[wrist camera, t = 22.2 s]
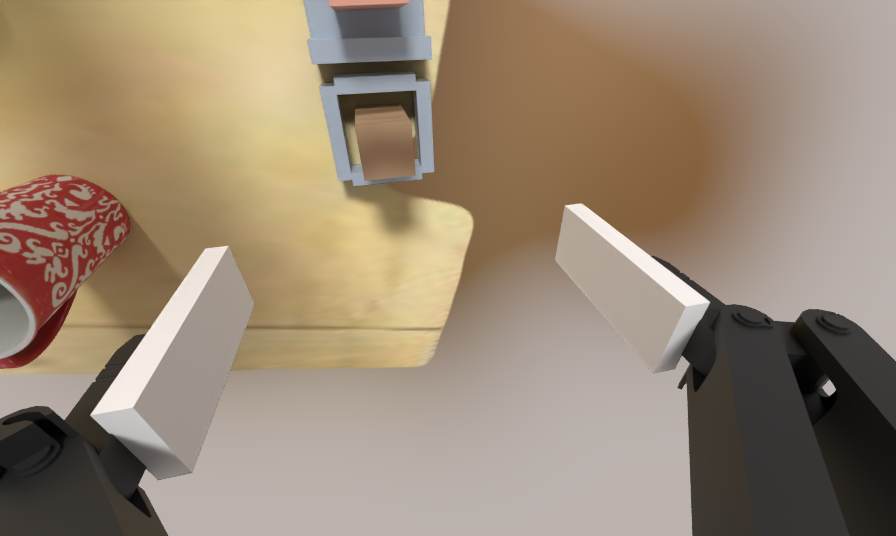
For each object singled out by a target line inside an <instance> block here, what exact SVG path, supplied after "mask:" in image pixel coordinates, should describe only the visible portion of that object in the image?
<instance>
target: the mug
mask: <svg viewBox="0 0 896 536" xmlns="http://www.w3.org/2000/svg"><path fill="white" fill-rule="evenodd" d="M129 228H130V222H129V218H128V216H127V213H126V211H125V209H124V208H123V207H122V205H121V204H120V203H119V202H118V201H117V200H116V199H115V198H114V197H113V196H112V195H111V194H110V193H108V192H107V191H105V190H104V189H102V188H101V187H99V186H97V185H95V184H93V183H91V182H89V181H86V180H83V179H80V178H76V177H72V176H65V175H50V176H44V177H40V178H37V179H34V180H31V181H29V182H26V183H24V184H21V185H18V186H16V187H13V188H10V189H7V190H4V191H2V192H0V369H5V368H18V367H22V366H24V365H26V364H28V363H30V362H32V361H33V360H34V359H36V358H37V357H38V356H39V355H40V354H41V353H42V352H43V351H44V350H45V349H46V348H47V347H48V346H49V345H50V343H51V342H52V341H53V339H54V338H55V336H56V335H57V333H58V332H59V330H60V328H61V327H62V325H63V323H64V321H65V319H66V317H67V315H68V312H69V310H70V308H71V305H72V303H73V301H74V298H75V295H76V293H77V290H78V288H79V287H80V286H81V285H82V284H83V283H84V282H85V281H86V280H87V278H88V277H89V276H90V275H91V274H92V273H93V272H94V271H95V270H96V269H97V268H98V267H99V266H100V265H101V264H102V263H103V262H104V261H105V260H106V259H107V258H108V256H109V255H110V254H111V253H113V252H114V251H115V249H116V248H118V247H119V246H120V245H121V244H122V242H123V241H124V240H125V239H126V237H127V235H128V233H129Z"/></svg>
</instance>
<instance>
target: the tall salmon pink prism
mask: <svg viewBox="0 0 896 536" xmlns="http://www.w3.org/2000/svg"><path fill="white" fill-rule="evenodd" d="M408 3H409V0H329V5H330V7H331V8H332V9H333V10H334V11H339V10H362V9H386V8H400V7H402V6H404V5H406V4H408Z"/></svg>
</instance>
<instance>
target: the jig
mask: <svg viewBox="0 0 896 536" xmlns="http://www.w3.org/2000/svg"><path fill="white" fill-rule="evenodd" d="M303 1H304V6H305V11H306V16H307V21H308V26H309V30H310V35H311V39H309V40H307V42H308V47H309V51H310V56H311V61H312V64H329V63H353V62H377V61H400V60H424V59H432V51H431V36H425V30H424V10H423V0H409V3H408V4H406V5H404V6H402V7H400V8H386V9H362V10H339V11H334V10H333V9H332V8H331V7H330V5H329V0H303ZM333 79H334V83H322V84H321V85H320V87H319V88H320V93H321V98H322V103H323V108H324V112H325V117H326V122H327V127H328V132H329V136H330V141H331V146H332V151H333V155H334V160H335V165H336V170H337V175H338V179H339V181H346V180H352V181H353V186H360V185H370V184H380V183H390V182H400V181H410V180H420V179H422V173H429V172H434V157H433V136H432V113H431V90H430V81H429V80H427V79H426V78H418V79H416V77H415V73H413V72H412V71H402V72H381V73H360V74H339V75H334V78H333ZM395 91H413V101H414V115H415V129H416V142H417V157H418V159H414V161H415V172H416V175H415V176H405V177H396V178H387V179H378V180H368V181H364V175H363V169H362V164H357V165H351V160H350V155H349V149H348V144H347V138H346V133H345V127H344V122H343V117H342V111H341V106H340V100H339V95H342V94H360V93H377V92H395Z"/></svg>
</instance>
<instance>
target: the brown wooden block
mask: <svg viewBox="0 0 896 536" xmlns="http://www.w3.org/2000/svg"><path fill="white" fill-rule="evenodd" d="M355 130H356V135H357V141H358V147H359V152H360V158H361V164H362V169H363V175H364V181H368V180H378V179H387V178H396V177H405V176H415V175H416V172H415V161H414V149H413V138H412V127H411V121H410V119H409V118H408V116H407V114H406V113H405V111H404V109H403V108H402V106H401V104H400V103H395V104H381V105H368V106H355Z"/></svg>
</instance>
